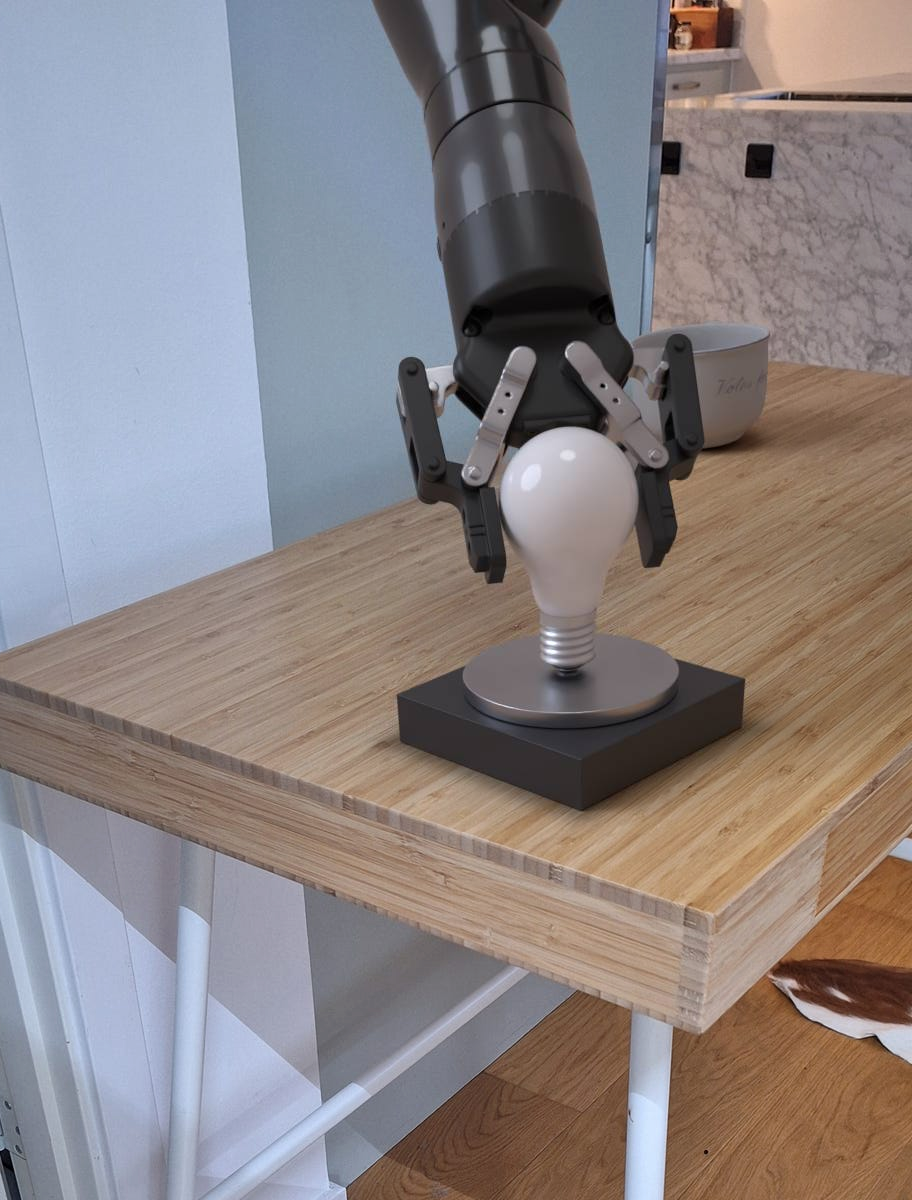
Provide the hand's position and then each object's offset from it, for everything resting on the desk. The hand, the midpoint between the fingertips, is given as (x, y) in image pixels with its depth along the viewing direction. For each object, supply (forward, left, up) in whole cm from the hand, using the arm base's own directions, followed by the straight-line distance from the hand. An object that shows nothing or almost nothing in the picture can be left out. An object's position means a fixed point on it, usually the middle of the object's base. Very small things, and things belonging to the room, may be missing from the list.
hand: (577, 566), depth 66 cm
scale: (-1, -1, -9) cm, 9 cm away
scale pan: (-1, -1, -6) cm, 6 cm away
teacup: (-52, -32, -9) cm, 62 cm away
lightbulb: (-1, -1, -6) cm, 6 cm away
